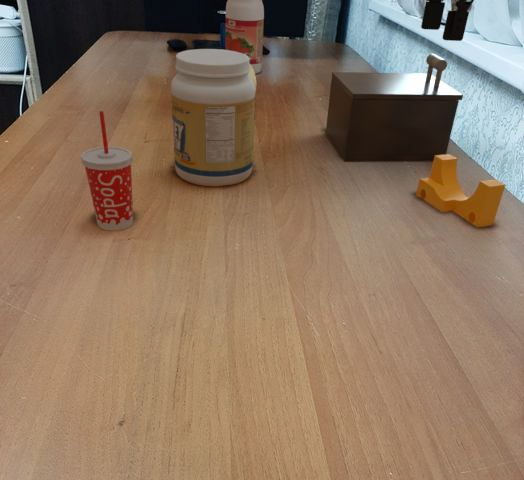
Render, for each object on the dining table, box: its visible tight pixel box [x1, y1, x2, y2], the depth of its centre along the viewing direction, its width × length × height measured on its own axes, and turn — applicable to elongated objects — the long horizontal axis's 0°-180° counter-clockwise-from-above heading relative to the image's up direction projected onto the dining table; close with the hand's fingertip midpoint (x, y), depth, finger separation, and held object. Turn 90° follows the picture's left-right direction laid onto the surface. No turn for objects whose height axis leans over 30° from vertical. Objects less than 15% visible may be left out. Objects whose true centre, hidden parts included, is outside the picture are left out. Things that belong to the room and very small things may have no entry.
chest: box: [325, 76, 460, 162], centre depth 101 cm, size 18×15×10 cm
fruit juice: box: [225, 0, 265, 75], centre depth 139 cm, size 9×9×28 cm
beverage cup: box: [80, 110, 134, 232], centre depth 70 cm, size 6×6×14 cm
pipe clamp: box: [415, 153, 506, 228], centre depth 79 cm, size 12×4×6 cm, turn 22°
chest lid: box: [331, 53, 464, 101], centre depth 96 cm, size 18×15×5 cm
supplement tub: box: [170, 48, 256, 187], centre depth 85 cm, size 12×12×17 cm
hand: (440, 34), depth 94 cm, fingers open, 9 cm apart
